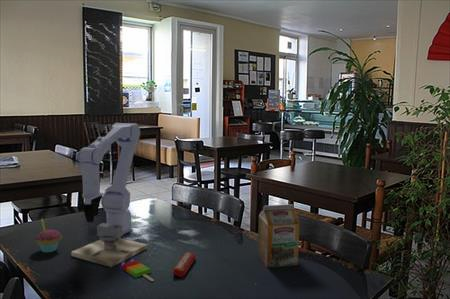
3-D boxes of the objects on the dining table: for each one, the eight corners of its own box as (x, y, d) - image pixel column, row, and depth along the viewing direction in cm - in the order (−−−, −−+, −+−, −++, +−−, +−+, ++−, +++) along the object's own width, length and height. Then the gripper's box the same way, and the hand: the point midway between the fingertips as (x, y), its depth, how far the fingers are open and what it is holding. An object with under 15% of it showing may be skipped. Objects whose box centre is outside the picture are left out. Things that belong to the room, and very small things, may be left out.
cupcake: (34, 255, 141) (32, 221, 139) (38, 246, 149) (36, 214, 147) (61, 253, 143) (59, 219, 141) (63, 244, 151) (62, 212, 150)
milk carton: (266, 267, 134) (268, 210, 131) (257, 254, 144) (259, 201, 141) (297, 265, 136) (300, 208, 133) (286, 252, 146) (288, 200, 143)
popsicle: (136, 265, 136) (136, 259, 136) (161, 281, 125) (161, 275, 124) (120, 269, 132) (120, 263, 132) (144, 286, 121) (144, 280, 121)
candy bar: (182, 280, 125) (182, 270, 125) (171, 278, 126) (171, 269, 125) (196, 258, 141) (196, 250, 140) (186, 257, 141) (186, 249, 141)
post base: (109, 239, 157) (109, 227, 156) (147, 248, 148) (147, 236, 148) (71, 255, 141) (70, 243, 140) (111, 267, 133) (110, 253, 132)
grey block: (94, 240, 142) (94, 226, 142) (105, 234, 148) (104, 220, 147) (115, 243, 140) (114, 228, 139) (124, 237, 145) (124, 223, 145)
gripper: (99, 185, 139) (100, 224, 141) (106, 176, 154) (107, 212, 156) (77, 186, 139) (78, 225, 141) (86, 177, 153) (87, 212, 155)
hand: (92, 218), depth 148 cm, fingers open, 7 cm apart
